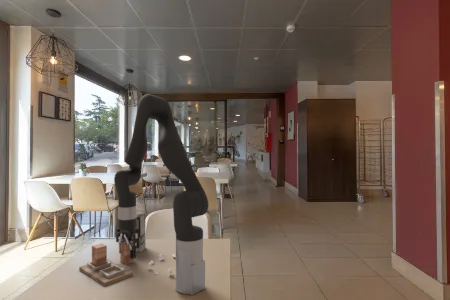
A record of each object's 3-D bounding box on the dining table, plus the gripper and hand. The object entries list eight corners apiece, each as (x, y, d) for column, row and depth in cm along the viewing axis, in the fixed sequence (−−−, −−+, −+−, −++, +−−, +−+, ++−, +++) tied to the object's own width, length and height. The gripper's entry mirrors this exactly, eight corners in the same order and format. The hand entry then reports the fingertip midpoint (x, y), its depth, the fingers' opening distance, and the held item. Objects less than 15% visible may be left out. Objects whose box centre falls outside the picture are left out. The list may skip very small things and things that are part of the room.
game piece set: (188, 279, 105) (188, 269, 105) (137, 274, 109) (137, 264, 109) (202, 259, 124) (202, 250, 124) (159, 255, 128) (159, 247, 128)
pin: (134, 261, 120) (134, 242, 120) (125, 264, 117) (125, 245, 117) (129, 259, 123) (129, 240, 123) (120, 262, 120) (120, 243, 120)
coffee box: (146, 247, 138) (146, 213, 138) (140, 252, 131) (140, 217, 131) (127, 246, 139) (127, 213, 138) (121, 251, 132) (121, 216, 132)
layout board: (132, 275, 108) (132, 250, 107) (104, 286, 99) (104, 259, 99) (106, 261, 121) (106, 239, 120) (79, 269, 112) (79, 246, 112)
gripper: (145, 218, 118) (144, 257, 118) (126, 212, 127) (126, 249, 128) (128, 221, 113) (128, 262, 113) (110, 215, 122) (110, 253, 122)
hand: (127, 255), depth 120 cm, fingers open, 8 cm apart
